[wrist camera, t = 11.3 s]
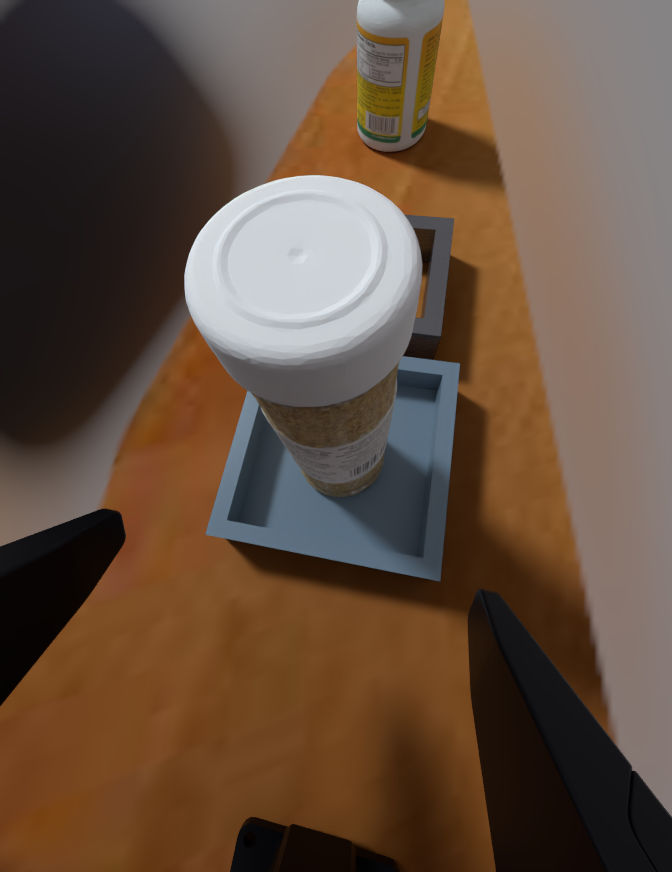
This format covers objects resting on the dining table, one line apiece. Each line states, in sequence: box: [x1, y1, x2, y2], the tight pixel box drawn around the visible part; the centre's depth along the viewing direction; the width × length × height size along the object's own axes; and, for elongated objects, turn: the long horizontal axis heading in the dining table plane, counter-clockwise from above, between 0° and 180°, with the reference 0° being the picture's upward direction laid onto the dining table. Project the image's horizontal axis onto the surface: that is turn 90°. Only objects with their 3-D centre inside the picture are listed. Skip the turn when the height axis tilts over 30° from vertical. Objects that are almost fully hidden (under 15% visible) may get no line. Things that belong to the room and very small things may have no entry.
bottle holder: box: [403, 215, 454, 360], centre depth 22 cm, size 8×8×2 cm
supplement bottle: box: [357, 0, 444, 152], centre depth 24 cm, size 5×5×10 cm
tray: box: [205, 356, 460, 581], centre depth 19 cm, size 11×11×2 cm
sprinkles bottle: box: [185, 175, 422, 497], centre depth 13 cm, size 5×5×13 cm
